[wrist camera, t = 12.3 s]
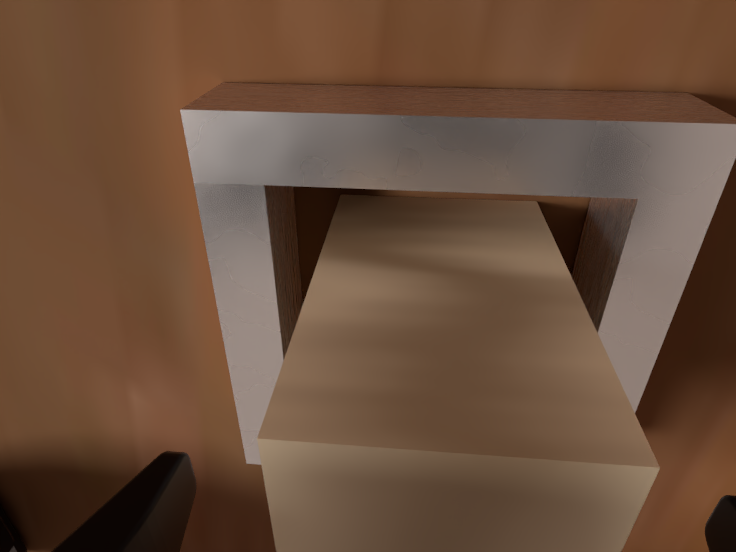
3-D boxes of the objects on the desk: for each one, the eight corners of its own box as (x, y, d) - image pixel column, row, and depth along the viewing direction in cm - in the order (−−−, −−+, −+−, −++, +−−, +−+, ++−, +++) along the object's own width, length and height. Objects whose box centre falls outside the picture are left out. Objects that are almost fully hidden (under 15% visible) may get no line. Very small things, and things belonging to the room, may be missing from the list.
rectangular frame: (267, 402, 18) (246, 463, 16) (222, 82, 12) (180, 109, 10) (581, 424, 17) (604, 491, 15) (687, 92, 11) (748, 124, 9)
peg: (345, 343, 16) (288, 627, 9) (340, 194, 13) (257, 438, 7) (508, 353, 16) (573, 655, 9) (536, 201, 13) (659, 467, 6)
